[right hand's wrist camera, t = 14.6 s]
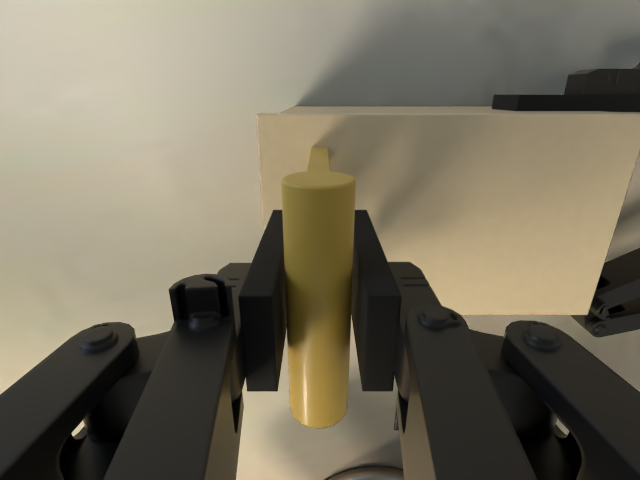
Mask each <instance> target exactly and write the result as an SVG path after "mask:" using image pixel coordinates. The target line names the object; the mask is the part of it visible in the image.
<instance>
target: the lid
mask: <svg viewBox="0 0 640 480" xmlns="http://www.w3.org/2000/svg"><path fill="white" fill-rule="evenodd" d="M256 119H257V135H258V151H259V167H260V184H261V200H262V216H263V232H264V231H265V229H266V227H267V224H268V222H269V219H270V217H271V214H272V212H273V210H282V215H283V240H284V265H285V290H286V315H287V340H288V364H289V389H290V408H291V412H292V414H293V416H294V417H295V418H296V419H297V420H298V421H299V422H300V423H301V424H303V425H305V426H308V427H311V428H327V427H330V426H332V425H335V424H336V423H338V422H339V421H340V420H341V419H342V418H343V417H344V415H345V413H346V411H347V407H348V382H349V355H350V328H351V315H352V314H351V301H352V274H353V246H354V219H355V210H367V212H368V214H369V217H370V219H371V222H372V224H373V227H374V229H375V232H376V234H377V236H378V239H379V241H380V244H381V246H382V249H383V251H384V254H385V256H386V259H387V261H388V262H411V263H412V264H414V265H415V266H417V267H418V268H420V269H421V270H422V272H423V274H424V276H425V277H426V279H427V281H428V283H429V284H430V286H431V288H432V289H433V291H434V293H435V295H436V296H437V298H438V300H439V302H440V303H441V305H442V306H444V307H446V308H449V309H452V310H454V311H455V312H457V313H458V314H460V315H588V312H589V309H590V306H591V303H592V299H593V296H594V293H595V290H596V287H597V284H598V281H599V278H600V274H601V271H602V268H603V265H604V262H605V259H606V256H607V253H608V249H609V246H610V243H611V240H612V237H613V234H614V231H615V228H616V224H617V221H618V218H619V215H620V212H621V209H622V206H623V203H624V199H625V196H626V193H627V190H628V187H629V184H630V181H631V178H632V174H633V171H634V168H635V165H636V162H637V159H638V156H639V153H640V114H639V113H260V114H257V115H256Z"/></svg>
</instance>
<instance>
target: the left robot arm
mask: <svg viewBox="0 0 640 480" xmlns="http://www.w3.org/2000/svg"><path fill="white" fill-rule="evenodd" d="M492 109H496V110H508V111H605V112H640V63H639V64H638V65H637V66H636V67H634V68H633V69H593V70H582V71H577V72H575V73H572V74H570V75H568V79H567V84H566V88H565V92H564V95H494V98H493V104H492ZM570 316H571V317H573V319H575V320H576V321H577V322H578V323H579V324H580V325H581V326H583V327H584V328H585V329H586V330H587V331H588V332H590V333H591V334H592V335H593V336H595V337H604V336H608V335H613V334H618V333H623V332H628V331H633V330H638V329H640V248H639V249H636V250H634V251H632V252H629V253H627V254H625V255H622V256H620V257H618V258H615V259H613V260H611V261H608V262H606V263H604V265H603V268H602V271H601V274H600V278H599V281H598V284H597V287H596V290H595V293H594V296H593V299H592V303H591V306H590V309H589V312H588V315H570ZM328 480H404V472H403V470H400V469H395V468H388V467H365V468H359V469H354V470H350V471H346V472H343V473H340V474H338V475H336V476H334V477H332V478H330V479H328Z"/></svg>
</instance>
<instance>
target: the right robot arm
mask: <svg viewBox="0 0 640 480" xmlns="http://www.w3.org/2000/svg"><path fill="white" fill-rule="evenodd" d="M169 294H170V299H171V305H172V311H173V317H174V324H173V326H172V328H171V330H170V331H168V332H165V333H161V334H156V335H151V336H146V337H141V338H136V335H135V331H134V328H133V327H131V326H130V325H129V324H126V323H121V322H111V323H109V322H108V323H102V324H98V325H94V326H92V327H90V328H88V329H85V330H83V331H81V332H79V333H78V334H76V335H75V336H73V337H71V338H70V339H69V340H68V341H66V342H65V343H64V344H63V345H61V346H60V347H59V348H58V349H56V350H55V351H54V352H53V353H51V354H50V355H49V356H48V357H46V358H45V359H44V360H43V361H42V362H40V363H39V364H38V365H37V366H35V367H34V368H33V369H32V370H30V371H29V372H28V373H27V374H25V375H24V376H23V377H22V378H21V379H19V380H18V381H17V382H16V383H14V384H13V385H12V386H11V387H9V388H8V389H7V390H6V391H4V392H3V393H2V394H1V395H0V480H236V472H237V463H238V454H239V444H240V435H241V426H242V416H243V407H244V405H243V396H242V388H243V385H244V381H245V377H246V384H247V391H278V384H279V377H280V370H281V363H282V356H283V349H284V342H285V335H286V328H287V315H286V290H285V265H284V240H283V215H282V210H273V212H272V214H271V217H270V219H269V222H268V224H267V227H266V229H265V231H264V234H263V236H262V239H261V241H260V244H259V246H258V249H257V251H256V254H255V256H254V259H253V261H252V263H229V264H228V265H226V266H225V267H224V268H222V269H221V270H219V272H218V274H201V275H194V276H191V277H187V278H184V279H182V280H180V281H178V282H176V283H174V284H173V285H172V286H171V288H170V289H169ZM351 314H352V321H353V328H354V335H355V342H356V349H357V356H358V363H359V370H360V377H361V384H362V391H393V383H394V375H395V379H396V383H397V387H398V396H397V405H396V415H395V425H394V430H399V434H400V444H401V453H402V462H403V472H404V480H640V392H639V391H638V390H636V389H635V388H634V387H633V386H631V385H630V384H629V383H628V382H626V381H625V380H624V379H623V378H621V377H620V376H619V375H618V374H616V373H615V372H614V371H613V370H611V369H610V368H609V367H608V366H606V365H605V364H604V363H603V362H601V361H600V360H599V359H598V358H596V357H595V356H594V355H593V354H591V353H590V352H589V351H588V350H586V349H585V348H584V347H583V346H581V345H580V344H579V343H578V342H576V341H575V340H574V339H573V338H571V337H570V336H569V335H567V334H566V333H564V332H562V331H561V330H559V329H557V328H555V327H552V326H550V325H548V324H545V323H542V322H540V323H539V322H537V321H516V322H512V323H510V324H509V325H508V326H507V327H506V331H505V335H504V337H503V336H497V335H492V334H487V333H482V332H478V331H474V330H471V329H469V328H468V325H467V323H466V321H465V320H464V319H463V317H462V316H461V315H460V314H458V313H457V312H455V311H454V310H452V309H449V308H446V307H444V306H442V305H441V303H440V302H439V300H438V298H437V296H436V295H435V293H434V291H433V289H432V288H431V286H430V284H429V283H428V281H427V279H426V277H425V276H424V274H423V272H422V270H421V269H420V268H418V267H417V266H415V265H414V264H412V263H411V262H388V261H387V259H386V256H385V254H384V251H383V249H382V246H381V244H380V241H379V239H378V236H377V234H376V232H375V229H374V227H373V224H372V222H371V219H370V217H369V214H368V212H367V210H355V219H354V246H353V274H352V301H351ZM557 418H558V419H559V420H560V421H561V422H562V423H563V424H564V426H565V427H566V428H567V429H568V430H569V434H568V435H566V434H564V433H563V432H562V431H561V430H560V429H559V428H558V426H557V425H556V421H557ZM82 420H83V421H84V424H85V426H84V427H83V428H82V430H81V431H80V432H79V433H78V434H76V435H75V436H74V437H73V436H72V434H71V433H72V432H73V430H74V429H75V428H76V427H77V426H78V425H79V424H80V423H81V421H82Z"/></svg>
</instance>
